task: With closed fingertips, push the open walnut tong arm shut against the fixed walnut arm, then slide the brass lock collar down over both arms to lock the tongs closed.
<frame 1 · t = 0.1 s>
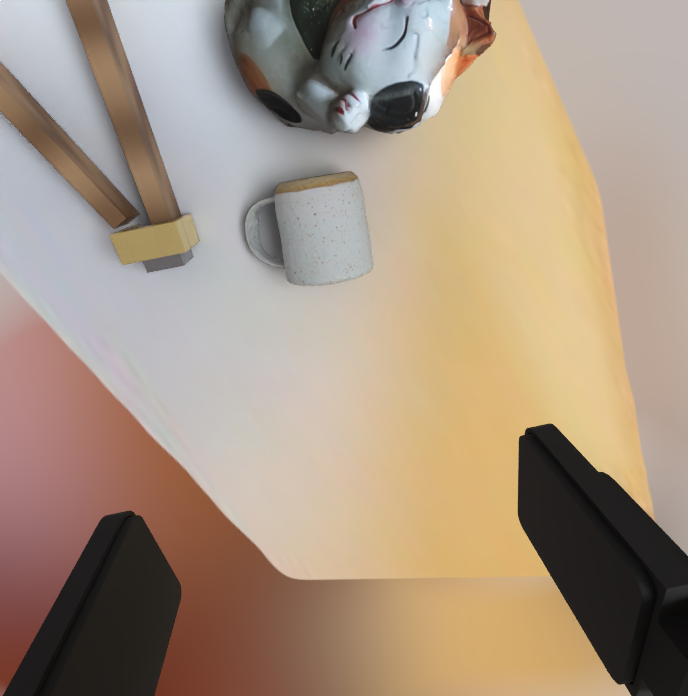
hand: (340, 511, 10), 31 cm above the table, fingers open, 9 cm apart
tong arm: (44, 132, 31), point 2 cm above the table, hinge at 25.0°
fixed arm: (141, 131, 33), on the table
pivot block: (170, 244, 37), on the table
ceramic mug: (307, 227, 37), on the table
lock collar: (158, 238, 34), point 3 cm above the table, slide at 0.0 cm
lucky cat figurine: (347, 44, 32), on the table
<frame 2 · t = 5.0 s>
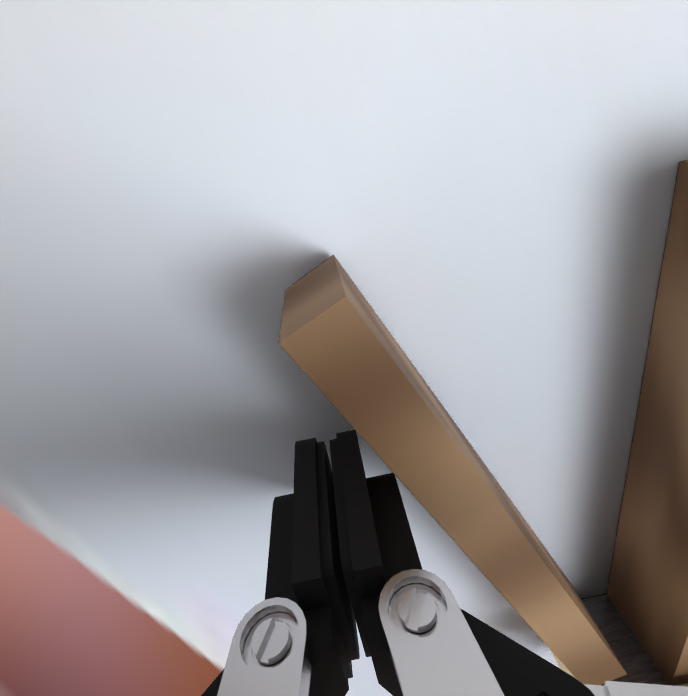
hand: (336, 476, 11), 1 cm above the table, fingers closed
tong arm: (483, 511, 11), point 2 cm above the table, hinge at 24.1°, touching gripper
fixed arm: (653, 452, 13), on the table
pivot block: (598, 616, 17), on the table
lock collar: (651, 674, 14), point 3 cm above the table, slide at 0.0 cm
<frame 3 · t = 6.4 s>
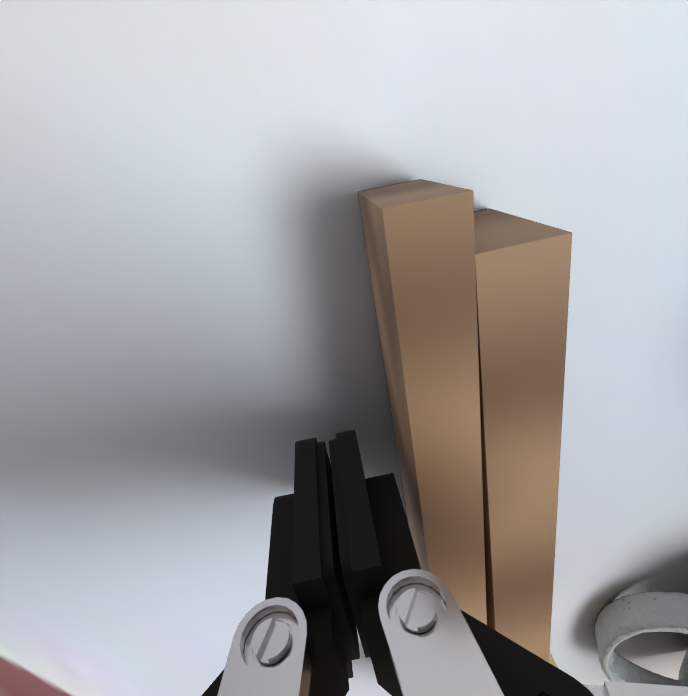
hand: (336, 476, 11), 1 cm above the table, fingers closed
tong arm: (436, 500, 11), point 2 cm above the table, hinge at -1.3°, touching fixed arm, gripper
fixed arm: (475, 492, 13), on the table
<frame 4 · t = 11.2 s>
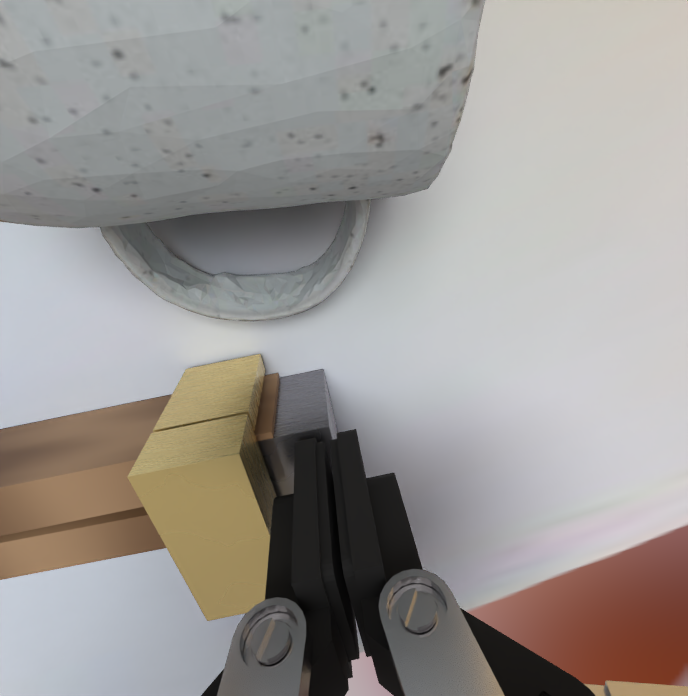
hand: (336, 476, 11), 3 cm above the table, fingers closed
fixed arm: (24, 445, 14), on the table
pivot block: (290, 416, 14), on the table
ceramic mug: (238, 95, 10), on the table
lock collar: (236, 475, 12), point 3 cm above the table, slide at 0.5 cm, touching gripper
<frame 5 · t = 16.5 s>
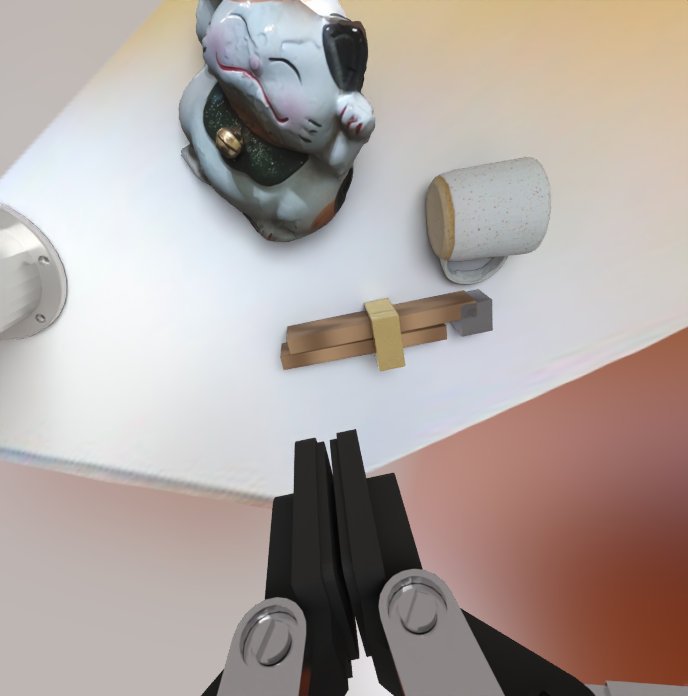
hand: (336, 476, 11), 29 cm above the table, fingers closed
tong arm: (362, 341, 40), point 2 cm above the table, hinge at -1.1°
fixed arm: (376, 315, 41), on the table
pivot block: (464, 307, 41), on the table
ceramic mug: (468, 222, 38), on the table
lock collar: (384, 333, 39), point 3 cm above the table, slide at 7.9 cm
lucky cat figurine: (272, 122, 33), on the table
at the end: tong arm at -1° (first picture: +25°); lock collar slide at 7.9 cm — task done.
